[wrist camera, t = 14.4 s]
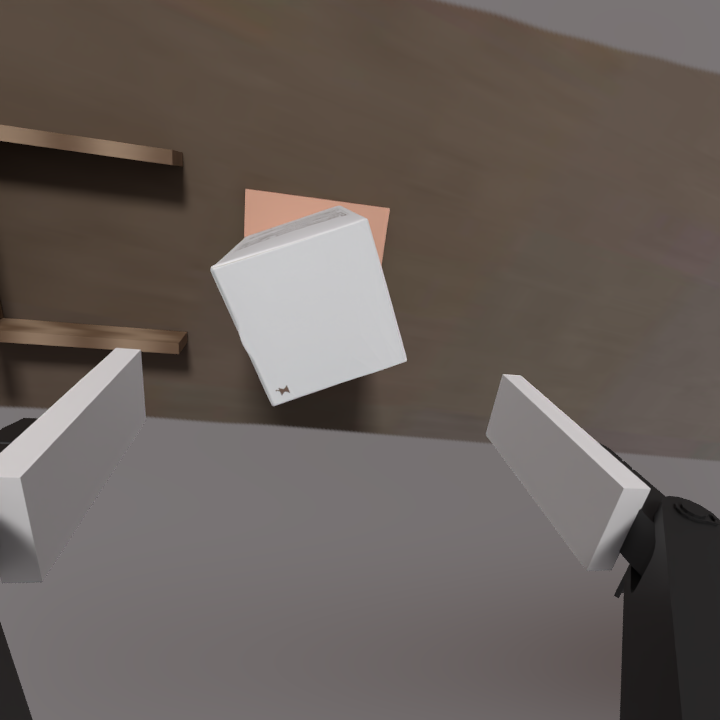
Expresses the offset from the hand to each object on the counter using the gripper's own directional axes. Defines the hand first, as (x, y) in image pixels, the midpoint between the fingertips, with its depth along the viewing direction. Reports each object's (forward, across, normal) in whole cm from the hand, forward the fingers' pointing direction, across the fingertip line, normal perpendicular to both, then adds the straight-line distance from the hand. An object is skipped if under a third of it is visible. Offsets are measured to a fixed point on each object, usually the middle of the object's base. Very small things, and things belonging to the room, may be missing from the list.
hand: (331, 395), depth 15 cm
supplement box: (+24, 0, 0) cm, 24 cm away
